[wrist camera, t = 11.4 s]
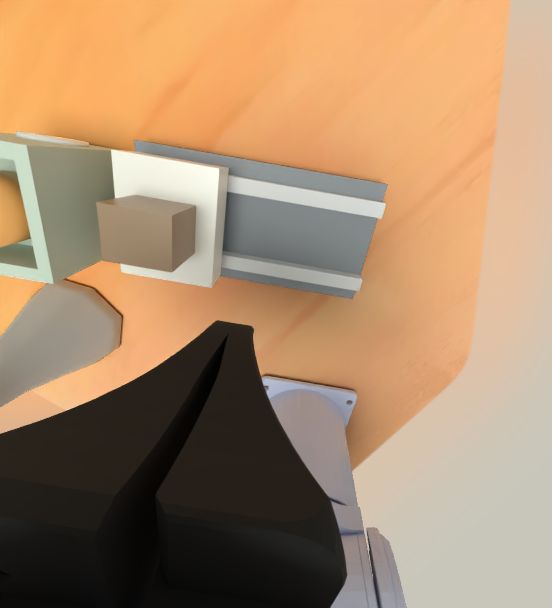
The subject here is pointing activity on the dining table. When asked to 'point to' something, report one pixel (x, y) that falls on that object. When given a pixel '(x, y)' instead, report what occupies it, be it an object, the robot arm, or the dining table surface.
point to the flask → (55, 337)
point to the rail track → (291, 222)
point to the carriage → (165, 218)
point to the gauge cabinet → (56, 204)
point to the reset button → (12, 210)
